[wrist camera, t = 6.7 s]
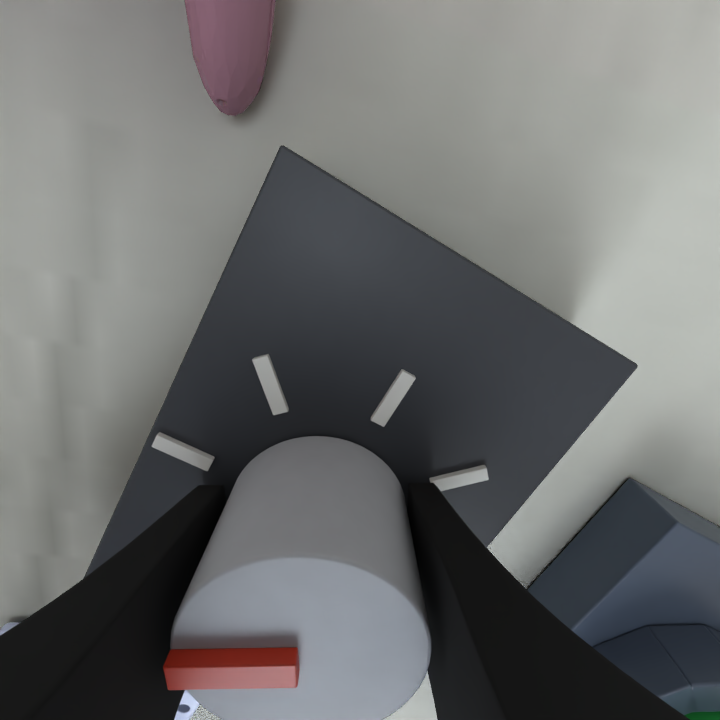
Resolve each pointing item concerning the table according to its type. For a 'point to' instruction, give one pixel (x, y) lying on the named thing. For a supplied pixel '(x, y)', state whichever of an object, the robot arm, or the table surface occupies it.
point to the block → (645, 594)
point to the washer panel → (368, 362)
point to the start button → (703, 715)
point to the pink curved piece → (231, 48)
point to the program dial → (305, 593)
